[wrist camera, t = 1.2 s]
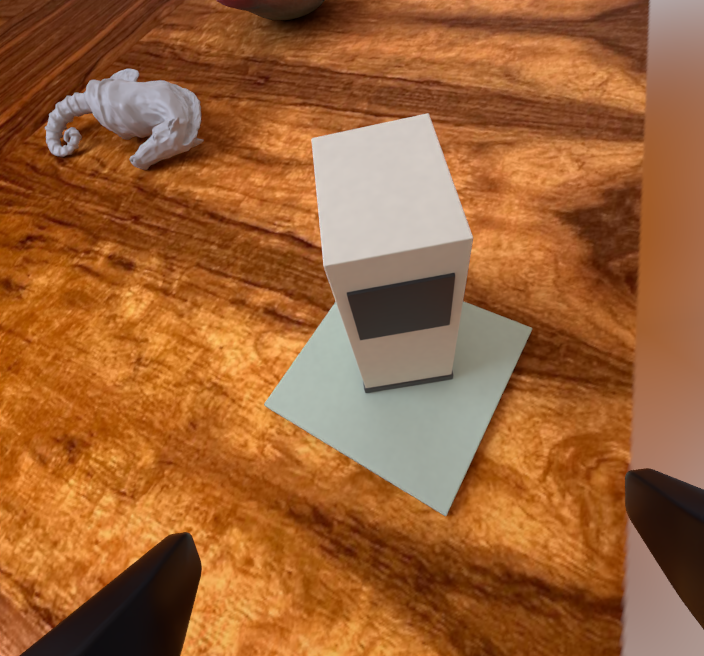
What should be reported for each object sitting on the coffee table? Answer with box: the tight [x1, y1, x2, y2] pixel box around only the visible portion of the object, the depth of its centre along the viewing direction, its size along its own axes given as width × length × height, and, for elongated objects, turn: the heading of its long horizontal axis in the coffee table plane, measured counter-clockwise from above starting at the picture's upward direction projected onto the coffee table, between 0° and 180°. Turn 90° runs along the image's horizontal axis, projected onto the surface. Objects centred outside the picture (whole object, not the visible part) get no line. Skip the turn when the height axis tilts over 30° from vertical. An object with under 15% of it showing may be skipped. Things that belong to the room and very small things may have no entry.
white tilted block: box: [312, 114, 473, 393], centre depth 20 cm, size 5×7×12 cm
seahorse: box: [45, 69, 204, 170], centre depth 40 cm, size 5×12×20 cm
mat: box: [264, 301, 532, 516], centre depth 24 cm, size 12×12×1 cm
